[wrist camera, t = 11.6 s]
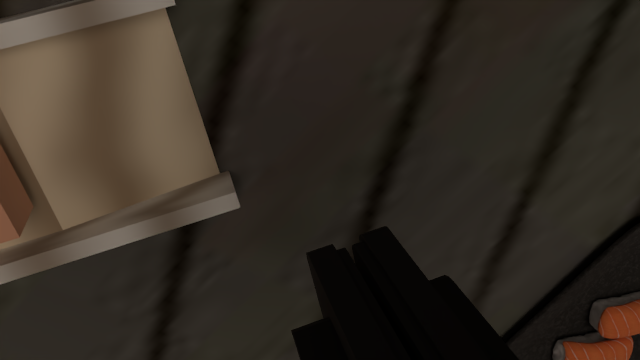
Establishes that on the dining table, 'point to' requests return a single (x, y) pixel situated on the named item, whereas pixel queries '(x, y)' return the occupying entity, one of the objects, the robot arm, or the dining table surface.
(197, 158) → the dock
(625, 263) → the sushi plate
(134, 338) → the dining table surface
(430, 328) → the robot arm
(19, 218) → the brown rectangular block
